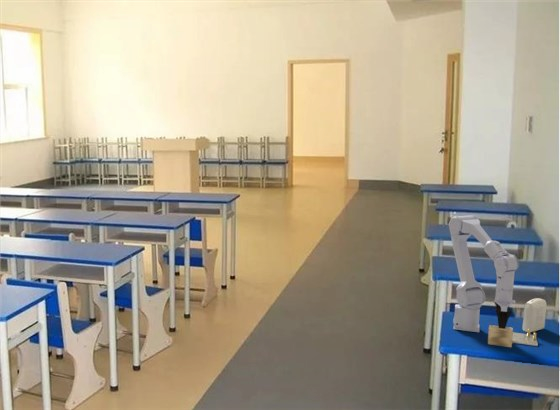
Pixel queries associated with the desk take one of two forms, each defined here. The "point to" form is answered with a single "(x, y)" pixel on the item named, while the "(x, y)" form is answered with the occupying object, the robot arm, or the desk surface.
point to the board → (500, 336)
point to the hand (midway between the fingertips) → (501, 324)
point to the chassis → (525, 338)
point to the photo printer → (534, 315)
